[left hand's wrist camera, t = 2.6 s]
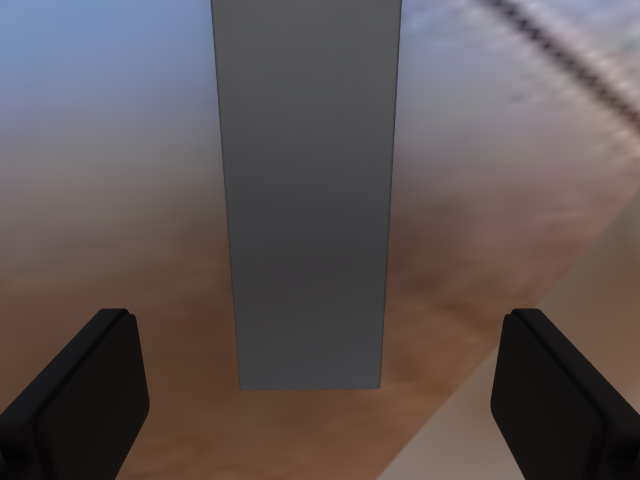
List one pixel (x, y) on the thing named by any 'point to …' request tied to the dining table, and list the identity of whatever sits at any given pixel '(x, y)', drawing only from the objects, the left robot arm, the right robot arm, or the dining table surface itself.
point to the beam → (308, 184)
